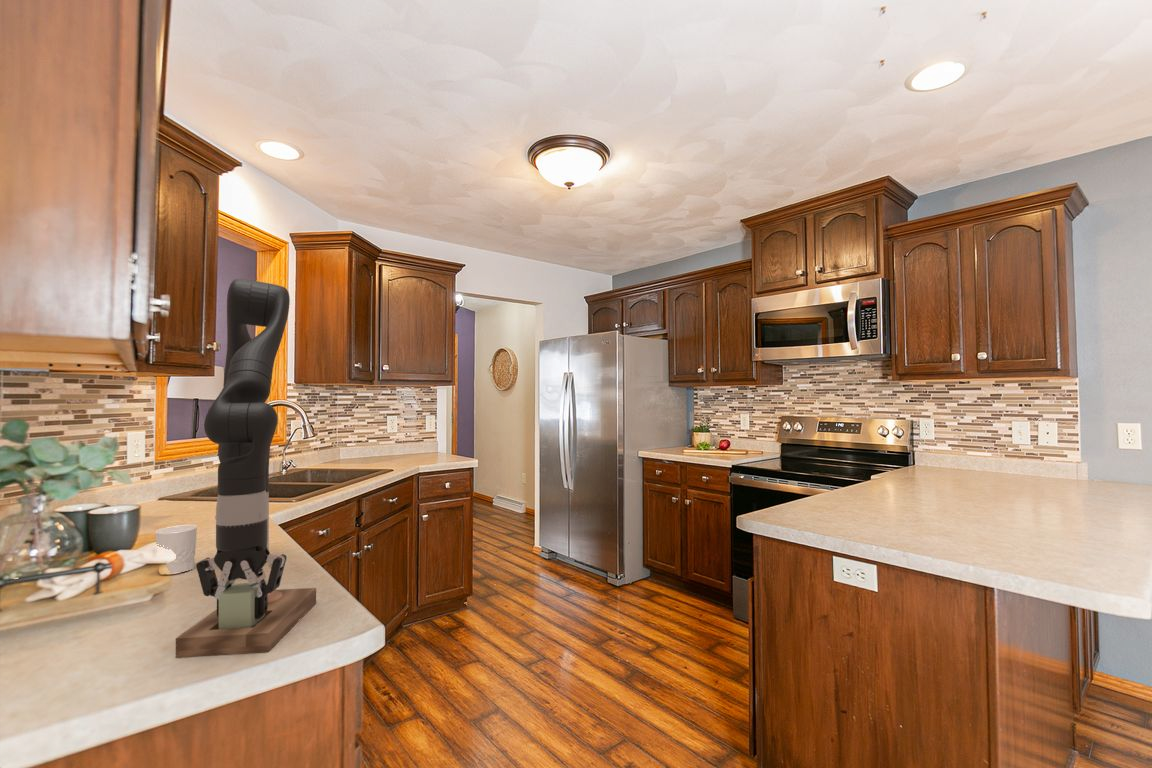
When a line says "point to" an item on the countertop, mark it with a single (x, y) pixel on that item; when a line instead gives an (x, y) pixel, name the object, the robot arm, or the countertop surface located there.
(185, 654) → the puzzle board
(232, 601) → the green block
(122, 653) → the countertop surface
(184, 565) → the white cup
